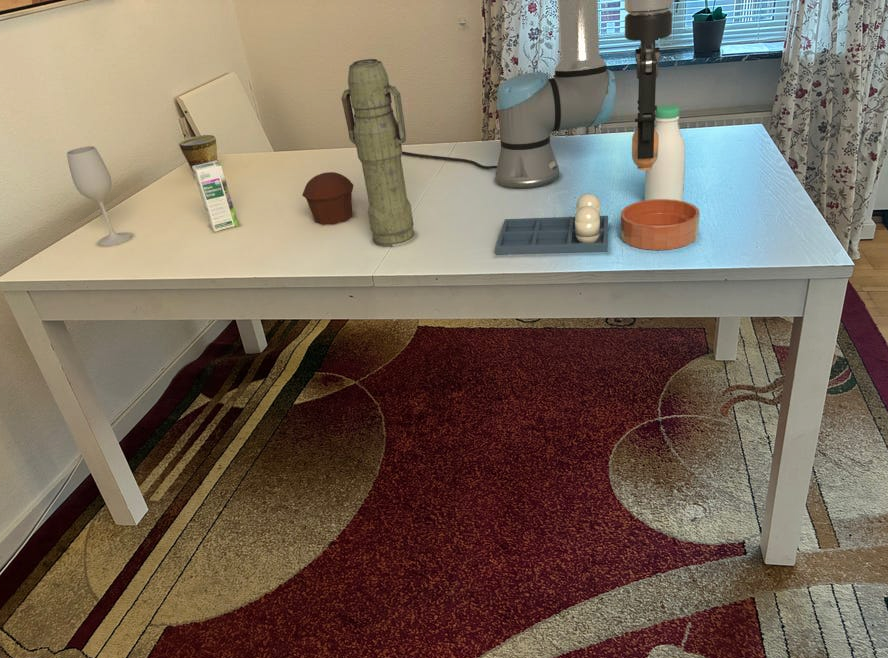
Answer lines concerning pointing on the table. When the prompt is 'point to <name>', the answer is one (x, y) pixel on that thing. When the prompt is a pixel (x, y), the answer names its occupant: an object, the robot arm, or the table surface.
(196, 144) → the ceramic cup
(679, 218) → the bowl
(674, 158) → the milk bottle
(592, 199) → the cream egg
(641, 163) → the brown egg
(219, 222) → the syrup box
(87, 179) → the wineglass
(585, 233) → the cream egg
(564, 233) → the egg tray
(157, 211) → the table surface
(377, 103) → the thermos
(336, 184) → the muffin
